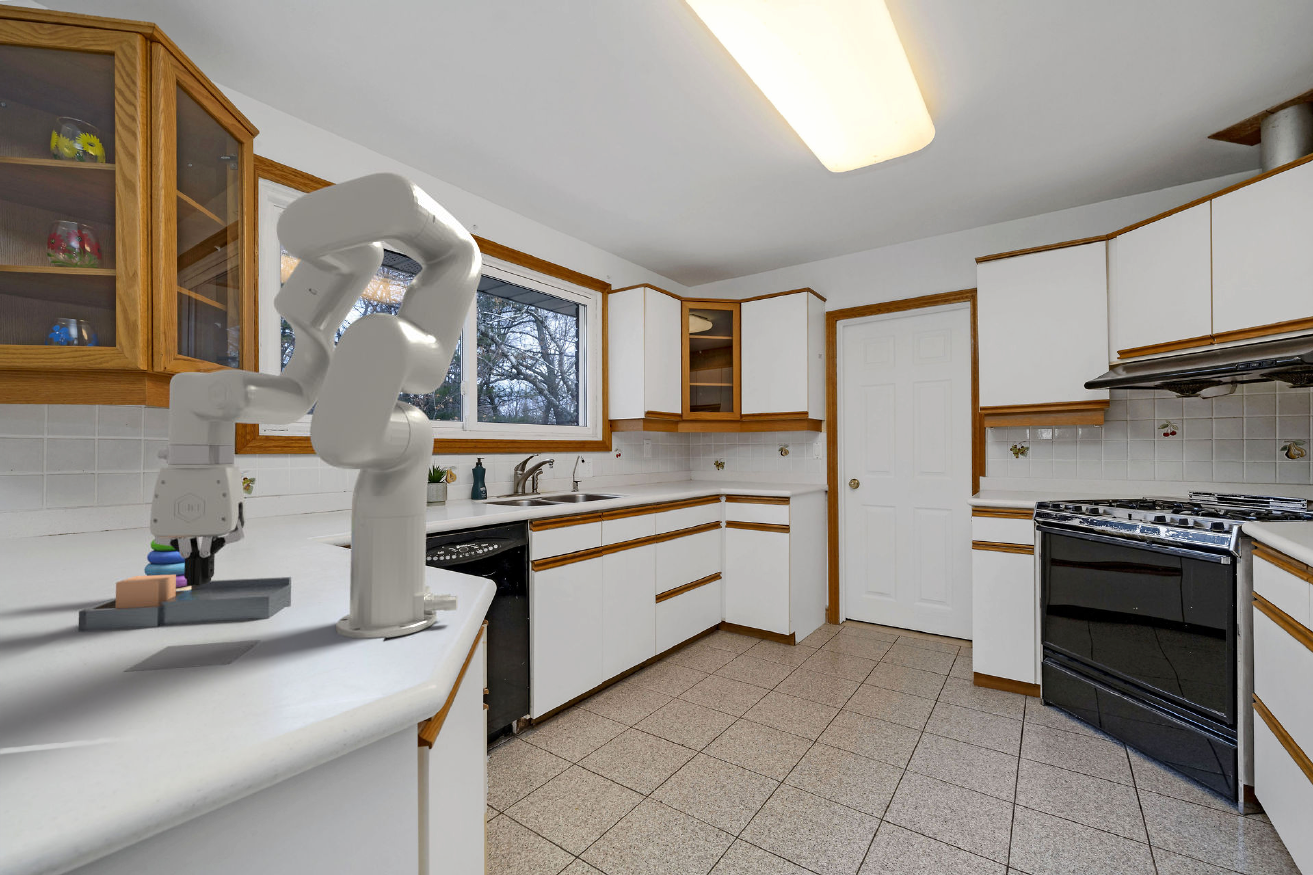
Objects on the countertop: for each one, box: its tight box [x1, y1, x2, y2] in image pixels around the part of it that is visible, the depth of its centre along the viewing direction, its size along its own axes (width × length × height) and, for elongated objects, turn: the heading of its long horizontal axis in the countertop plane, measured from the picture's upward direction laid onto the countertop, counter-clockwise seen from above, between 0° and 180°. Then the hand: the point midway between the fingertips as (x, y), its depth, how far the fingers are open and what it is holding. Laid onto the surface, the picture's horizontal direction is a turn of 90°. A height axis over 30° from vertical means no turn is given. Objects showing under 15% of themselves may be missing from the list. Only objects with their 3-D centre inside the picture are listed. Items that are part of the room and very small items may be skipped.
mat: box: [122, 639, 262, 673], centre depth 65 cm, size 10×8×1 cm
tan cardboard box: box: [115, 575, 176, 608], centre depth 79 cm, size 5×4×5 cm
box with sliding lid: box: [77, 576, 292, 632], centre depth 81 cm, size 22×10×4 cm, turn 104°
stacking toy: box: [143, 539, 191, 591], centre depth 92 cm, size 8×8×19 cm
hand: (199, 583), depth 81 cm, fingers closed
